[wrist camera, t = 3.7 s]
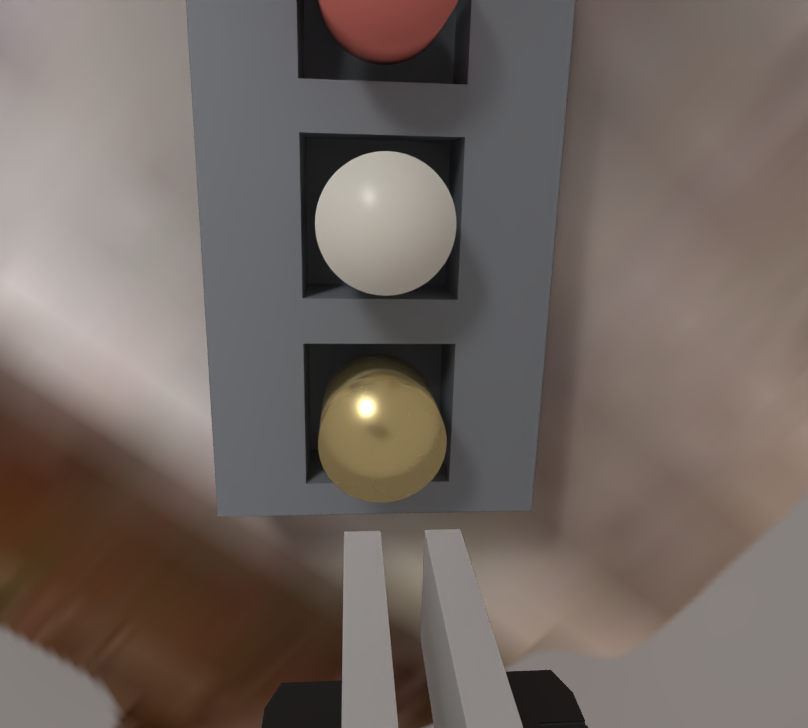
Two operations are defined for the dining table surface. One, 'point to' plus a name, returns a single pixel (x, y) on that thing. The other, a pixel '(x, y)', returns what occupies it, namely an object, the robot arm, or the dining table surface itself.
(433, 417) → the gold rounded piece
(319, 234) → the ivory button
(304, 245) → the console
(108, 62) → the dining table surface
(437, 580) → the robot arm
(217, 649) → the dining table surface
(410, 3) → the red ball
